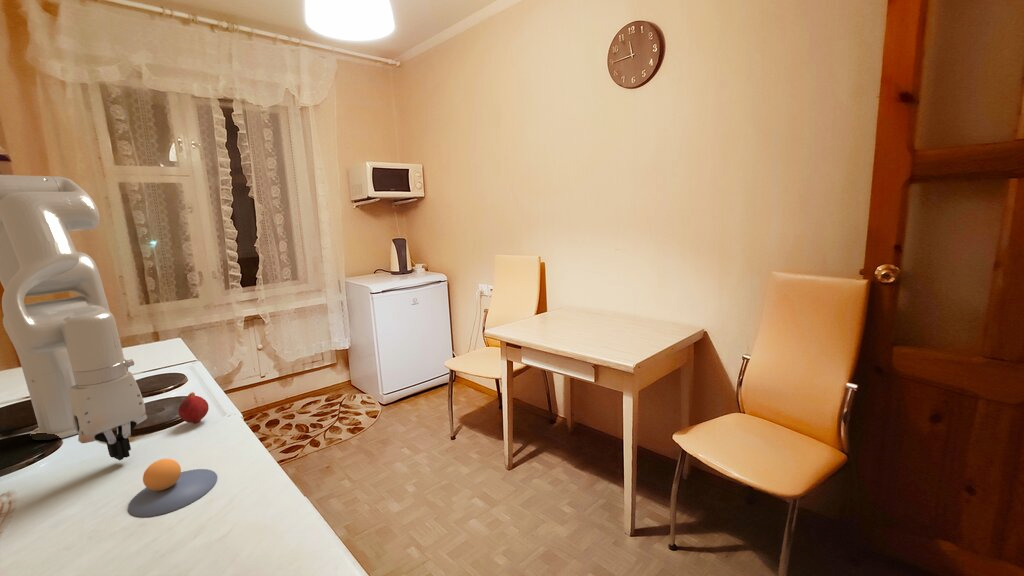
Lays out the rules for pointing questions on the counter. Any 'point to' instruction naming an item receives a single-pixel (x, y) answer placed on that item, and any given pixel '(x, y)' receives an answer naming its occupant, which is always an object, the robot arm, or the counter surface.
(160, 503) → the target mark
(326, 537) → the counter surface
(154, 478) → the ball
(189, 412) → the onion
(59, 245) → the robot arm
